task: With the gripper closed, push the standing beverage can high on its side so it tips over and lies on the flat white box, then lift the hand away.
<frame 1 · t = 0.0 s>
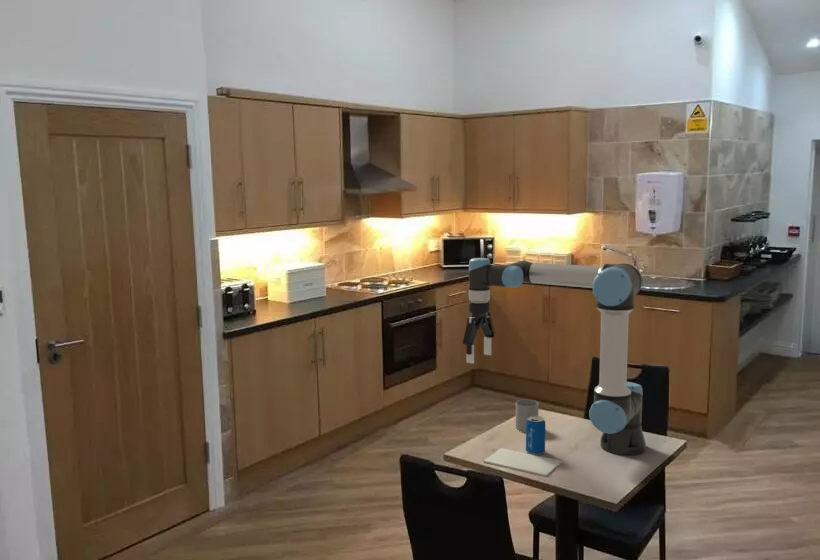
hand: (479, 358, 260), 28 cm above the table, tool pointing down, fingers open, 13 cm apart
cup: (526, 429, 268), on the table
beverage can: (535, 452, 245), on the table
flat white box: (522, 462, 236), on the table
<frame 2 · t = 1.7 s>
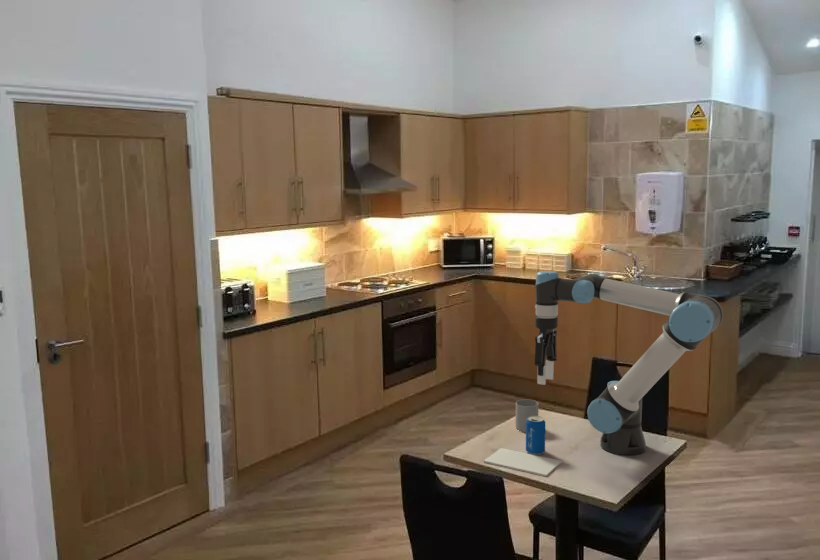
hand: (545, 381, 248), 23 cm above the table, tool pointing down, fingers open, 6 cm apart
nothing on the table moved.
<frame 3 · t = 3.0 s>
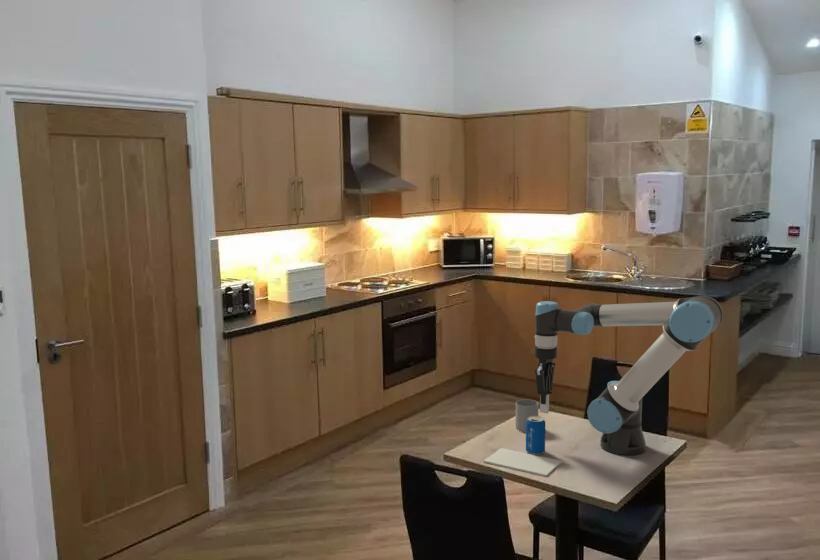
hand: (544, 412, 250), 12 cm above the table, tool pointing down, fingers closed
nothing on the table moved.
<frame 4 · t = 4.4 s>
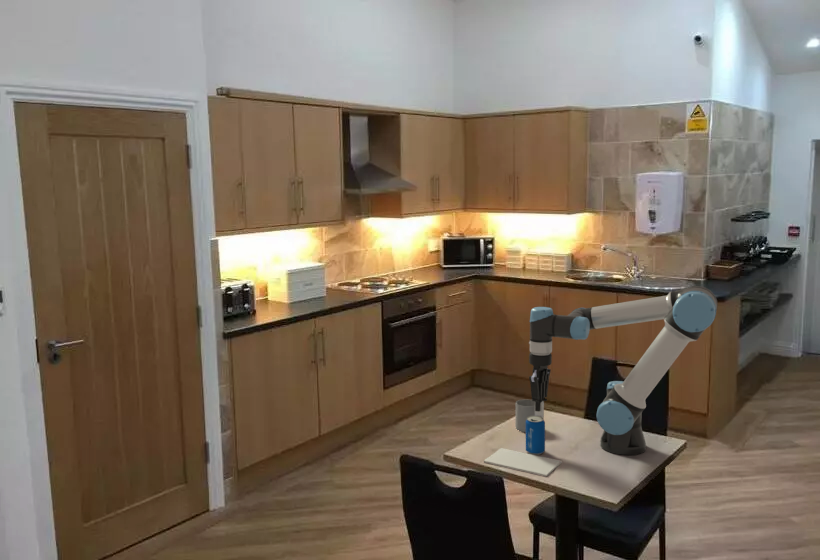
hand: (539, 419, 246), 11 cm above the table, tool pointing down, fingers closed
nothing on the table moved.
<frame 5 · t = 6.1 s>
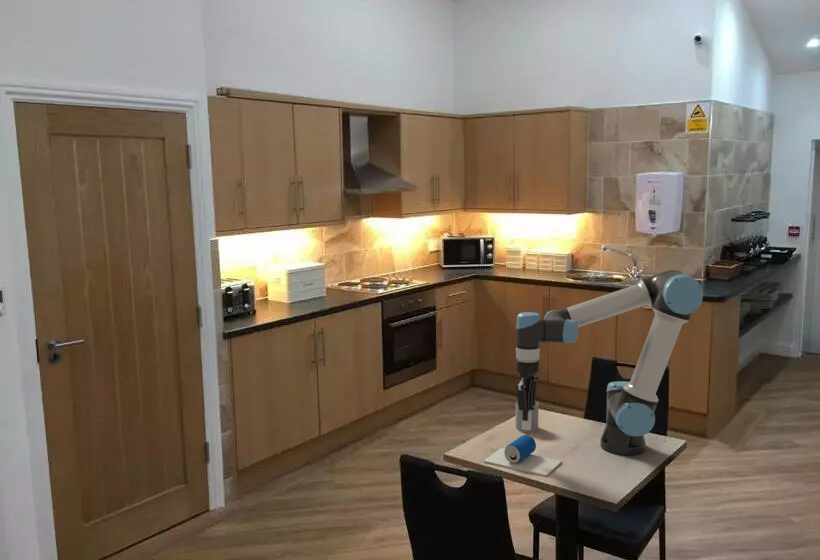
hand: (526, 429, 237), 11 cm above the table, tool pointing down, fingers closed
beverage can: (528, 443, 243), point 4 cm above the table, touching flat white box
everything else where it was.
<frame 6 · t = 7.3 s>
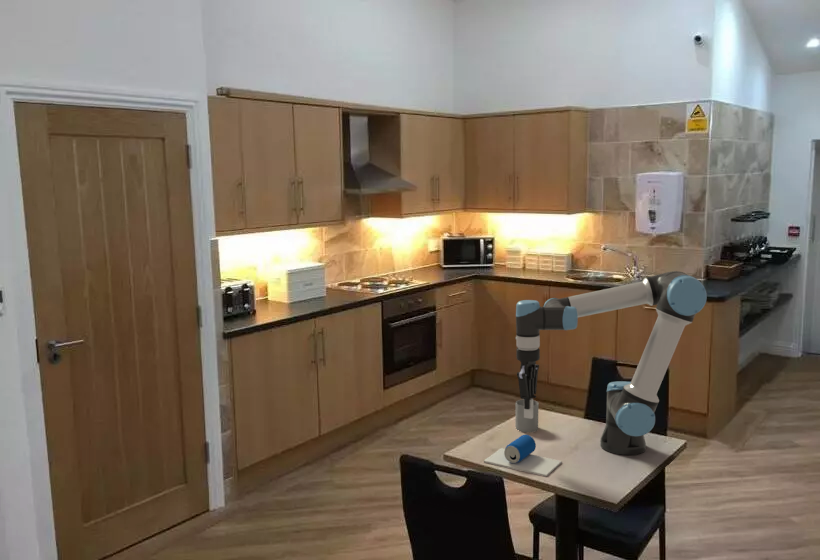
hand: (528, 417, 237), 15 cm above the table, tool pointing down, fingers closed
nothing on the table moved.
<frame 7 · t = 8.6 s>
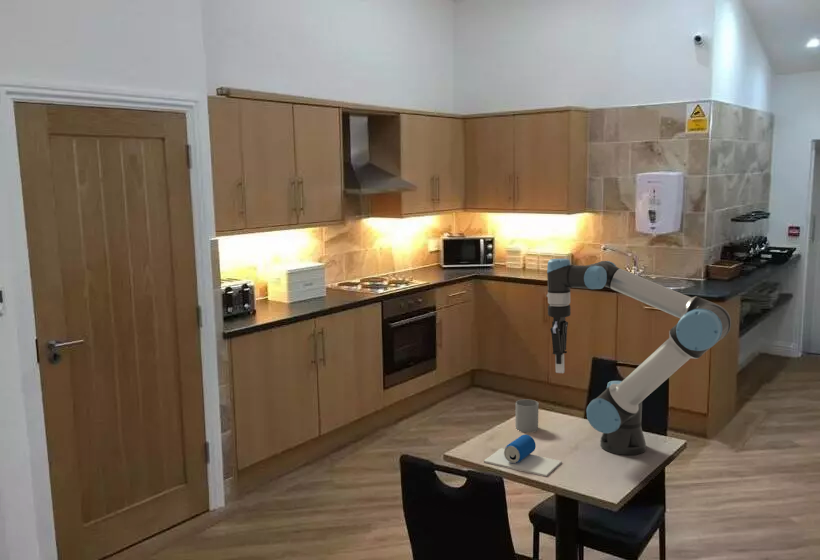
hand: (560, 372, 245), 27 cm above the table, tool pointing down, fingers closed
nothing on the table moved.
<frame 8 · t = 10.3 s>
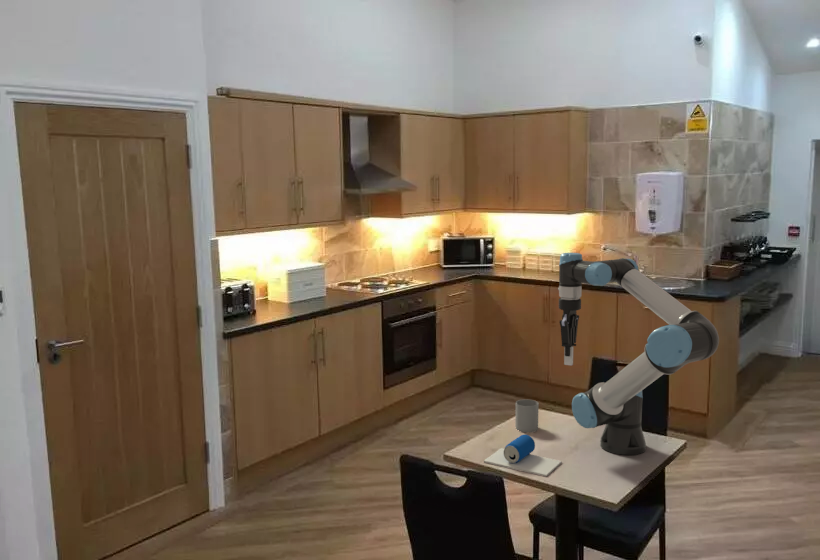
hand: (568, 364, 249), 28 cm above the table, tool pointing down, fingers closed
nothing on the table moved.
at the end: beverage can tilted 90°; beverage can touching flat white box; beverage can inside the target area (5.7 cm from its centre), point 3.8 cm above the table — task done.
